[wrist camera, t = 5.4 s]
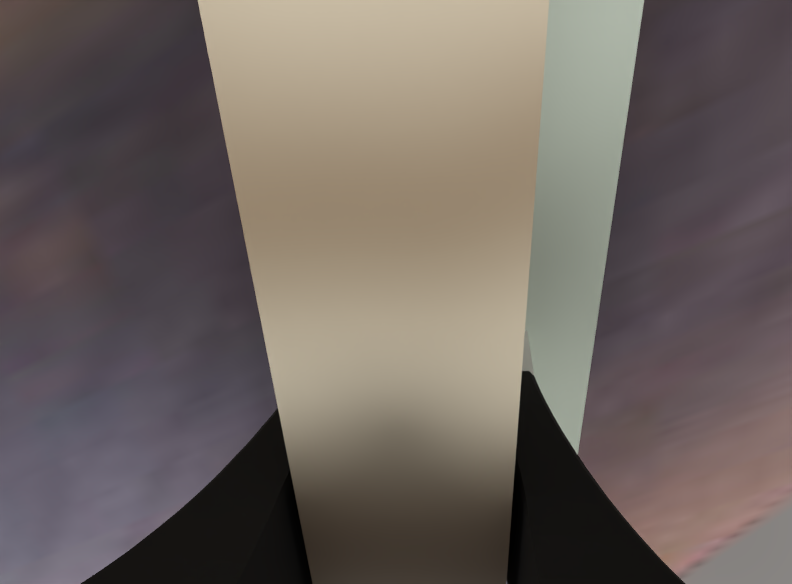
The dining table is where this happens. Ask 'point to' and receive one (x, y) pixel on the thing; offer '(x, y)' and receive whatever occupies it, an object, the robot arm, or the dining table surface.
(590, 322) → the cap board
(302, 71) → the slat
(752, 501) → the dining table surface
